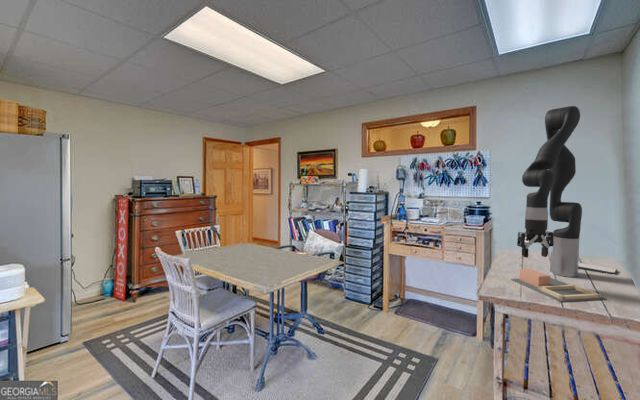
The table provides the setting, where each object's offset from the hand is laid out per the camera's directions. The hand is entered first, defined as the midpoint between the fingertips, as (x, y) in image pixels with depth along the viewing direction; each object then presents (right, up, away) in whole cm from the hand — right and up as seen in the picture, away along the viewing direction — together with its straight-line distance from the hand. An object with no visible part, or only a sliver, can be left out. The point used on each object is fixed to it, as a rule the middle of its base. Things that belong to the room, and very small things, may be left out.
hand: (534, 256), depth 122 cm
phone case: (+43, -10, +20) cm, 48 cm away
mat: (+4, -12, -5) cm, 14 cm away
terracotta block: (0, -11, +1) cm, 11 cm away
